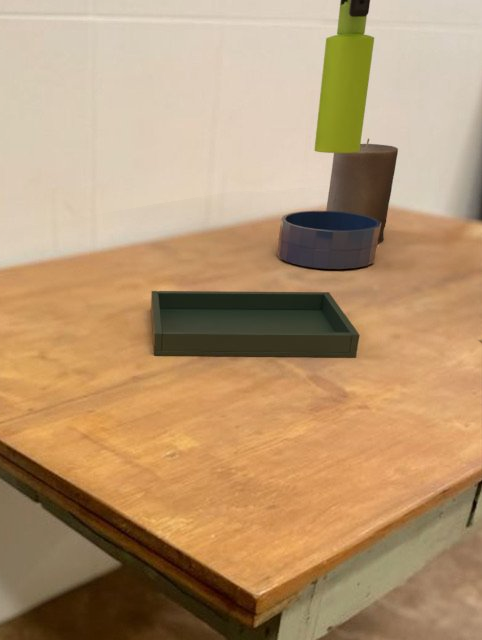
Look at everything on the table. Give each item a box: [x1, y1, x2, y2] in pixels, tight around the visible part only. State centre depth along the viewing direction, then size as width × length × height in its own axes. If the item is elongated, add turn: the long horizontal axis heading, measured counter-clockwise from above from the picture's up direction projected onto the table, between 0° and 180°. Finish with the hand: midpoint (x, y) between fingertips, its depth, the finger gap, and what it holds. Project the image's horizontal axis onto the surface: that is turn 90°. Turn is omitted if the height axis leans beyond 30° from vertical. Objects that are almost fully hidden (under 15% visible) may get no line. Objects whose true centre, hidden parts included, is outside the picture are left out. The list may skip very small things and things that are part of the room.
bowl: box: [276, 210, 381, 270], centre depth 121 cm, size 14×14×6 cm
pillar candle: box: [325, 138, 399, 244], centre depth 129 cm, size 10×10×15 cm
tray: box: [150, 290, 360, 358], centre depth 93 cm, size 22×16×2 cm
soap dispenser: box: [314, 0, 375, 154], centre depth 104 cm, size 6×7×20 cm
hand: (352, 16), depth 101 cm, fingers closed on soap dispenser, 5 cm apart
